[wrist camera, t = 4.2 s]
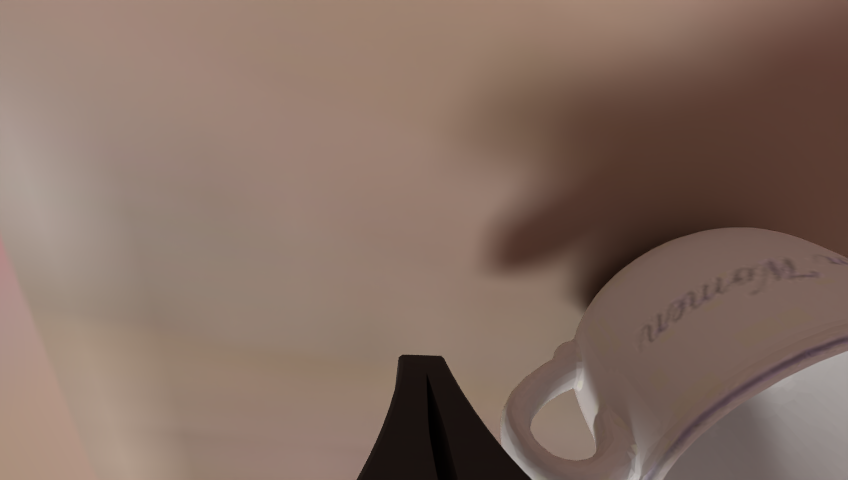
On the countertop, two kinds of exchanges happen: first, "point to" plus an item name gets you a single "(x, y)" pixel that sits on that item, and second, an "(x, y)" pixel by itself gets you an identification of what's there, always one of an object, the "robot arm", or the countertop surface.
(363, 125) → the countertop surface
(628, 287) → the teacup
